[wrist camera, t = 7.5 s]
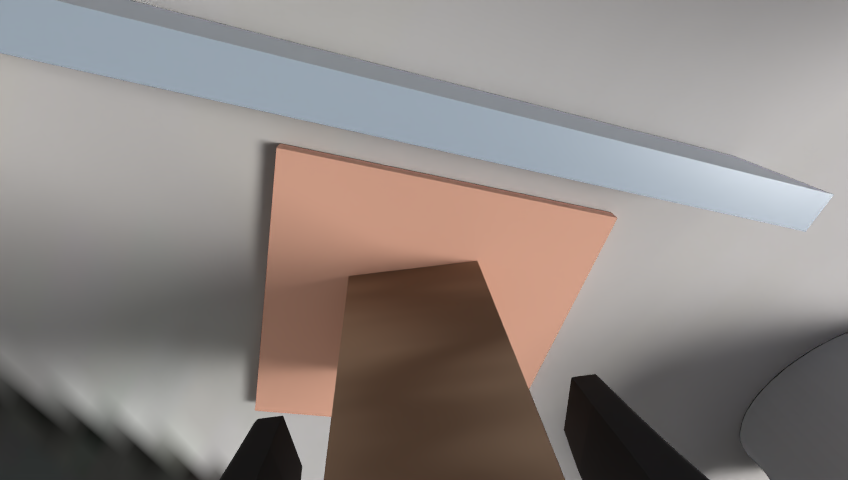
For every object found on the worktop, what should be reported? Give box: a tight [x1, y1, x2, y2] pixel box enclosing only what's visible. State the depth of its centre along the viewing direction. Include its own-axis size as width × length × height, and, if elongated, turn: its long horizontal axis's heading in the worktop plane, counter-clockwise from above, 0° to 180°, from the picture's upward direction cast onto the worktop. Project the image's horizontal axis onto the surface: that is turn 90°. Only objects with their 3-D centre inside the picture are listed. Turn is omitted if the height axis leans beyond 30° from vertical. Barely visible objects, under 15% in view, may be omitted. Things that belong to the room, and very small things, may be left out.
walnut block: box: [324, 261, 565, 480], centre depth 10 cm, size 4×4×7 cm
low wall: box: [0, 0, 833, 232], centre depth 9 cm, size 18×1×3 cm, turn 76°
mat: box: [255, 144, 617, 417], centre depth 14 cm, size 10×10×1 cm
